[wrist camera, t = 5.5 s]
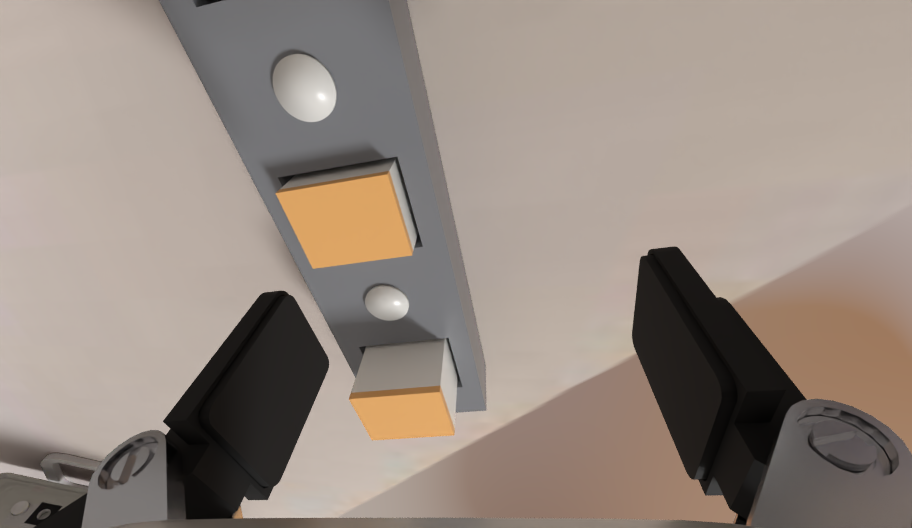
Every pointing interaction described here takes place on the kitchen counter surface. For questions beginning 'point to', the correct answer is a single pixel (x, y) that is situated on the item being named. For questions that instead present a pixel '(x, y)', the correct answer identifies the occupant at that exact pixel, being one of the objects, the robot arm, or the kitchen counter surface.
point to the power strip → (342, 154)
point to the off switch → (407, 390)
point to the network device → (40, 492)
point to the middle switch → (351, 213)
